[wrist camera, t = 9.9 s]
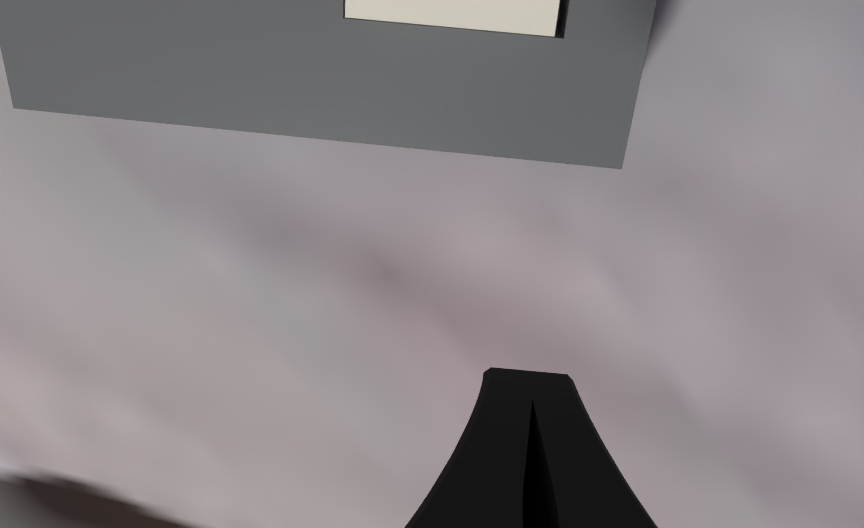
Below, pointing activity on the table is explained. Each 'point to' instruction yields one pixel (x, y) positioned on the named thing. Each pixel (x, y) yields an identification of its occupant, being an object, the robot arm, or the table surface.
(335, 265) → the table surface
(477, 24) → the ivory button
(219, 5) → the control panel
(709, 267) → the table surface
